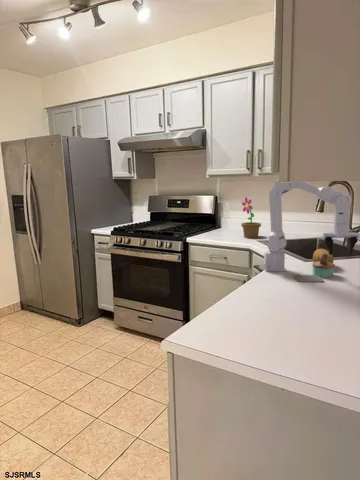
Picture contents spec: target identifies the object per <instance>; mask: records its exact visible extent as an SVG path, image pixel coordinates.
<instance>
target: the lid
mask: <svg viewBox="0 0 360 480" xmlns="http://www.w3.org/2000/svg"><path fill="white" fill-rule="evenodd" d="M327 259H328V254H325V253H321V254H320V261H318V262H314V261H313V262H312V267H313V266H314V267H316V268H322V269H331V268H335V265H336V264H335V263H334V262H333V263H330V262H327Z"/></svg>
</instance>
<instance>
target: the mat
mask: <svg viewBox="0 0 360 480" xmlns="http://www.w3.org/2000/svg"><path fill="white" fill-rule="evenodd" d="M292 277H293V278H294V279H295V281H296V282H297V283H325V280H324V279H323V277H320V276H319V275H314V274H292Z"/></svg>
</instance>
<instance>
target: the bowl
mask: <svg viewBox="0 0 360 480" xmlns="http://www.w3.org/2000/svg"><path fill="white" fill-rule="evenodd" d="M334 268H335V267H334ZM334 268H331V269H322V268H316V267H314V266H313V265H312V275H319V276H320V277H321V278H331V277H333V276H334Z"/></svg>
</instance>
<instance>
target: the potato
mask: <svg viewBox="0 0 360 480" xmlns="http://www.w3.org/2000/svg"><path fill="white" fill-rule="evenodd" d="M321 253H325V254H328V259H327V262H330V263H333V264H334V261H335V260H334V259H335V258H334V255H333V254H332V255H329V252H328V249H324V248H318V249H316V250H315V251H314V252H313V255H312V261H313V262H318V261H320V254H321Z"/></svg>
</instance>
